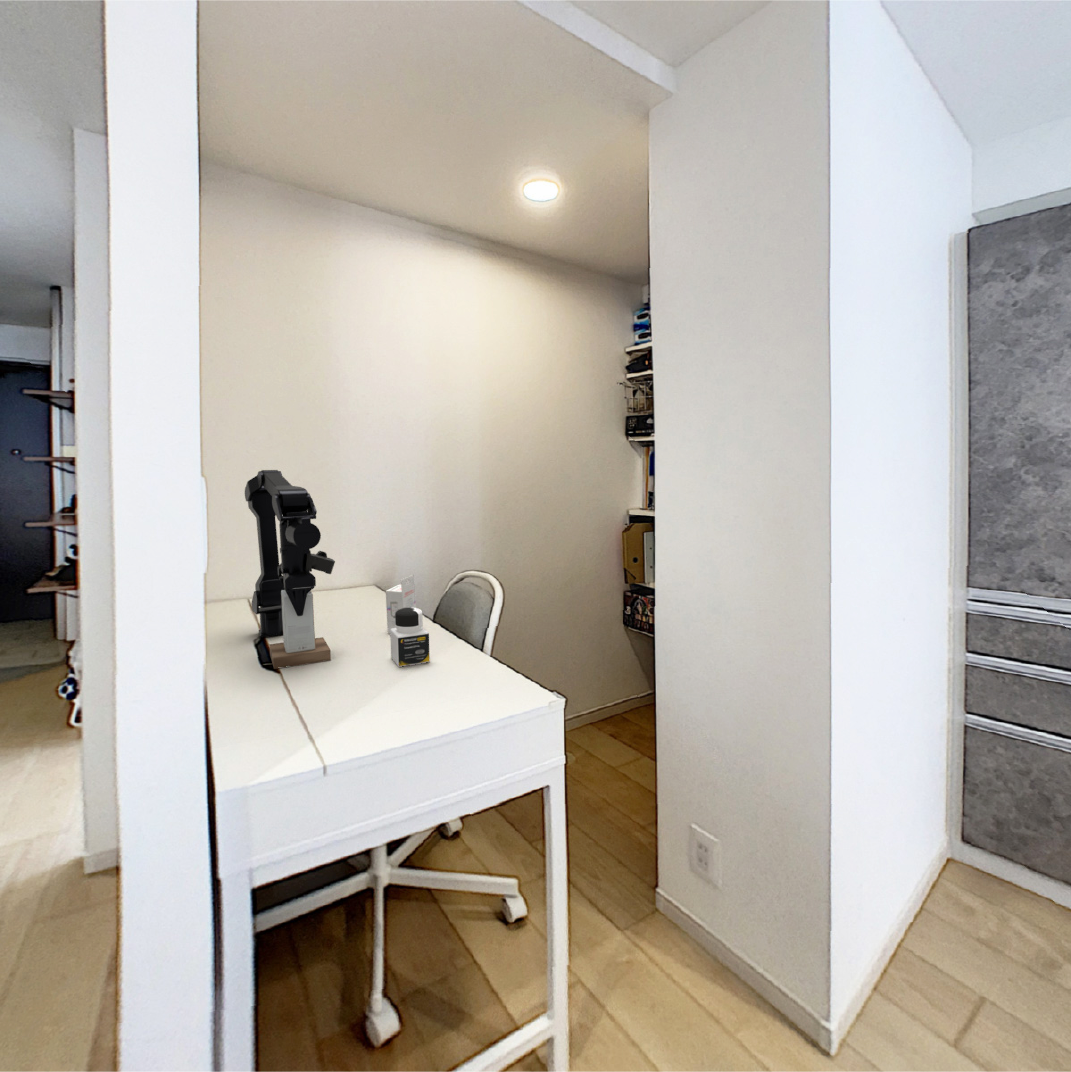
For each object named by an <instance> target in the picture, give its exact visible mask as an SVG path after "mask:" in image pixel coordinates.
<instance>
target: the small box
mask: <svg viewBox="0 0 1071 1072" xmlns="http://www.w3.org/2000/svg"><path fill="white" fill-rule="evenodd" d="M281 599H282V620H283V635H282V636H283V639H282V640H283V642H284V647H285V650H286V653H292V652H300V651H307V650H313V649H315V638H316V633H315V614H314V613H315V612H314V610H315V609H314V595H313V592H312V590H311V591H310V592H309V593H308V594H307V597H306V602H305V607H304V612H303V616H297V614H296V612H295V610H294V608H293V605H292V603H291V601H290V599H289V597H288V595H287V593H286V591H285V590H281Z"/></svg>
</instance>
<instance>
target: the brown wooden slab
mask: <svg viewBox="0 0 1071 1072" xmlns="http://www.w3.org/2000/svg"><path fill="white" fill-rule="evenodd" d="M268 645H269V656H270V659H271V662H272V666H273V669H274V670H275V669H276V670H277V669H278V670H279V668H278V667H284V668H287V667H286V666H291V667H296V666H297V667H298V666H301V665H302V666H303V665H309V664H317V663H323V662H330V661H332V654H331V653H332V652H331V648H330V646H329V645H328V643H327V641H326V640H325V638H324V636H323V637H322V636H321V637H315V649H313V650H307V651H300V652H292V653H286V650H285V647H284V641H283V642H278V643H277V642H275V643H271V644H270V643H269V644H268Z"/></svg>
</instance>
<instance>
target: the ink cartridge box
mask: <svg viewBox="0 0 1071 1072" xmlns="http://www.w3.org/2000/svg"><path fill="white" fill-rule="evenodd" d="M408 581H409V582H408ZM407 582H408V583H407ZM385 605H386V606H385V607H386V620H387V621H386V622H387V623H386V626H387V628H386V629H387V634H388V635H390V629H392V628H396V623H395V613H396V611H398V610H400V609H402V608H417V607H416V605H417V604H416V584H415V577H414V574H413V573H412V574H411V575H408V576H406V577H404V578H402V579H401V580H400V584H397V585H395V586H393V587H391V588H389V589H387V590H385Z"/></svg>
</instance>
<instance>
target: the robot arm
mask: <svg viewBox="0 0 1071 1072" xmlns="http://www.w3.org/2000/svg"><path fill="white" fill-rule="evenodd" d="M244 499H245V502H247V505H248V507H247V508H248V509H249V511H251V513H252V514H253V516H254V517H255V518H256V519H255V520H256V531H257V540H258V541H257V542H258V543H257V545H258V555H259V565H260V575H259V576H258V578H257V581H256V582H255V591H253V595H252V599H251V603H250V604H251V610H252V613H254V614H255V615H259V624H260V625H259V626H260V629H258V635H259V638H266V637H265V636H269V637H274V636H283V620H282V599H281V590H285V591H286V593H287V595H288V597H289V599H290V601H291V603H292V605H293V608H294V610H295V612H296V614H297V616H303V612H304V607H305V602H306V597H307V594H308V593H309V592H310V591H311V592H312V590H314V588H315V587H316V586H317V584H316V583H317V582H316V576H315V575H314V574H313V573H311V572H312V571H313V570H315V571H319V572H322V573H325V574H326V575H327V574H328V575H331V574H332V572H333V569H334V567H335V564H336V561H335V559H333V558H331V557H328V555H327V552H326V551H323V550H319V551H317V553H311V552H312V551H311V549H313V548H315V547H316V546H318V544H319V543H320V541H321V539H322V538H321V536H322V535H321V531H320V529H319V527H318V526H317V525H315V524H314V523H312V522H311V520H316V519H317V513H318V510H317V508H316V506H315V503H314V501H313V498H312V497H311V494H310V493H309V492H308V490H307V489H306V488H305V487H302V486H295V485H292V484H291V483H290V482H289V481H288V480H287V479H286V478H285V477H284V476H283V474H282V471H281V470H278V469H261V470H259V471H258V472H257V474H256V476H254V477H252V478H251V479H249V480H247V482H246V485H245V487H244ZM276 519H277V521H279V524H278V525H279V541H280V542H279V543H280V544H279V545H280V547H279V546H278V533H277V523H276V522H277V521H276ZM279 554H280V558H279ZM280 561H281V563H280Z"/></svg>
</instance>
